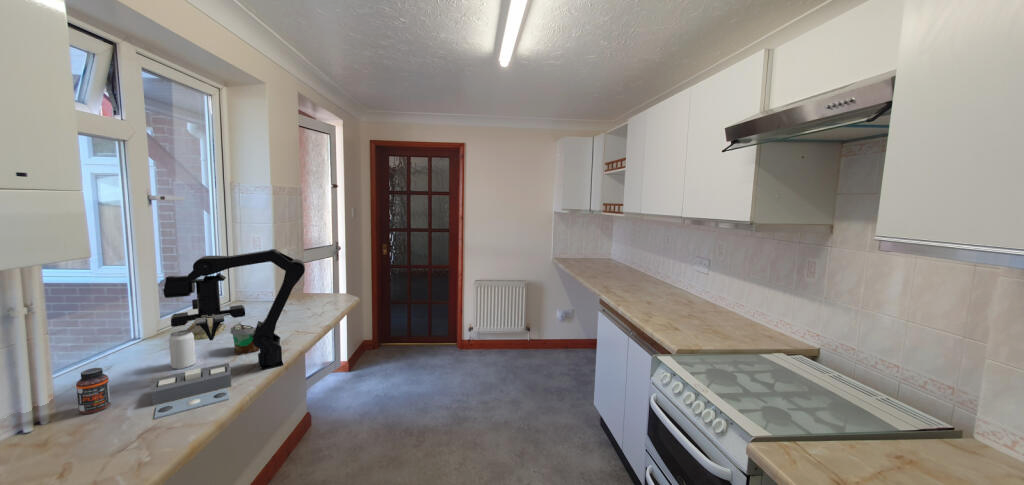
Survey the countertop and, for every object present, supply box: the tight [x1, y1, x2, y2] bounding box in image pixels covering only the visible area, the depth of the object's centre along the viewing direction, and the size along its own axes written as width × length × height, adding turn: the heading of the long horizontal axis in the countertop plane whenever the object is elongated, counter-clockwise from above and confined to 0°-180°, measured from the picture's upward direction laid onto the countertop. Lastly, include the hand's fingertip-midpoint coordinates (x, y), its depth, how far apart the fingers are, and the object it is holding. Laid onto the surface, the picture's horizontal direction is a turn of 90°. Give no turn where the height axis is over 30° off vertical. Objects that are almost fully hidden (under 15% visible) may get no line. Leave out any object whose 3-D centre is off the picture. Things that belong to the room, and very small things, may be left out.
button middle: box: [184, 367, 202, 381], centre depth 114 cm, size 4×4×2 cm
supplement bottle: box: [75, 367, 112, 415], centre depth 102 cm, size 6×6×11 cm
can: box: [168, 329, 197, 370], centre depth 129 cm, size 6×6×12 cm
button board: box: [150, 362, 232, 406], centre depth 114 cm, size 18×10×4 cm, turn 130°
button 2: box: [211, 367, 225, 375], centre depth 118 cm, size 4×4×2 cm
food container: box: [229, 321, 260, 355], centre depth 141 cm, size 12×6×10 cm, turn 68°
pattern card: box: [153, 388, 230, 420], centre depth 107 cm, size 16×7×1 cm, turn 130°
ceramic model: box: [186, 314, 226, 341], centre depth 157 cm, size 14×11×10 cm
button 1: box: [158, 377, 176, 387], centre depth 110 cm, size 4×4×2 cm
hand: (211, 340), depth 122 cm, fingers closed
